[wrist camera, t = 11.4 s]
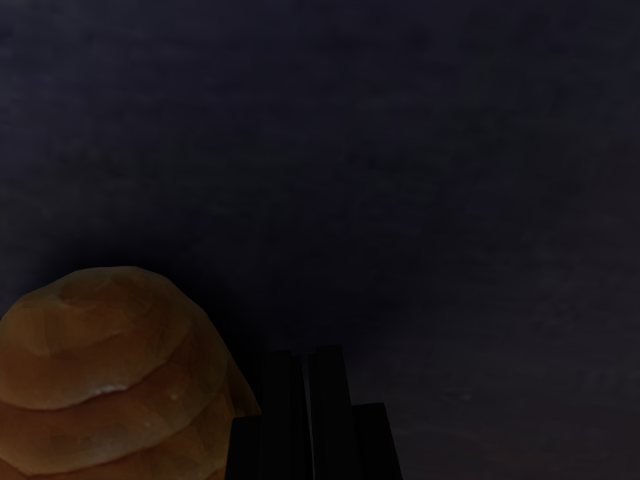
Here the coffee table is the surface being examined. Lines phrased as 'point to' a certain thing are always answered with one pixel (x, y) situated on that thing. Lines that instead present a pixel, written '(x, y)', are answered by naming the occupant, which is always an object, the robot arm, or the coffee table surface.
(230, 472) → the robot arm
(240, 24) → the coffee table surface
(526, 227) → the coffee table surface
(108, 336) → the pastry
